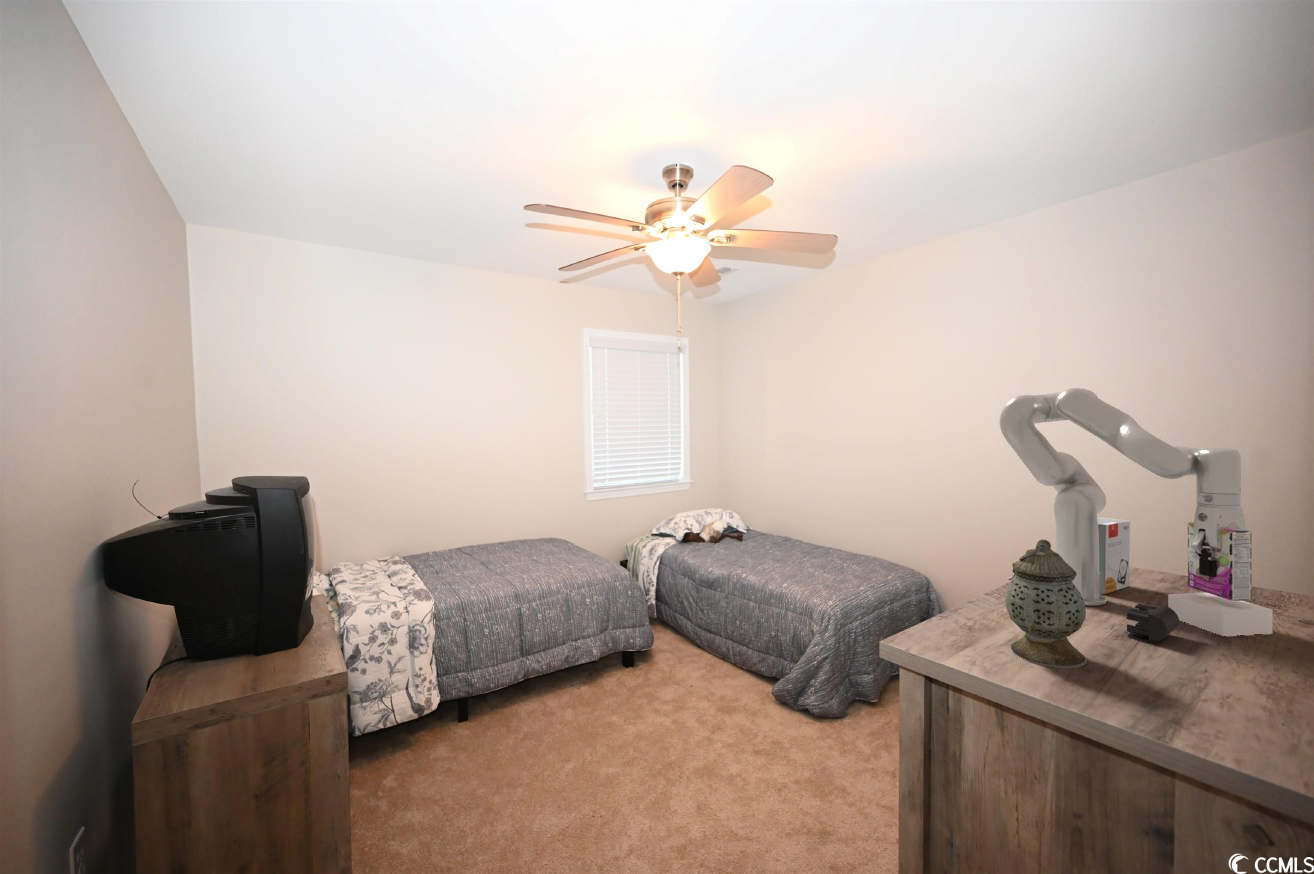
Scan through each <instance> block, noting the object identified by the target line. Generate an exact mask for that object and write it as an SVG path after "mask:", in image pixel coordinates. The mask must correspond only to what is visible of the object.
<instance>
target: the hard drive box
mask: <svg viewBox="0 0 1314 874" xmlns="http://www.w3.org/2000/svg"><path fill="white" fill-rule="evenodd" d="M1097 521H1098V530H1099V594H1101V595H1106V594H1111V593H1113V592H1115V591H1118V590H1119V591H1120V590H1121V589H1125V588H1128V587H1130V555H1131V554H1130V546H1131V545H1130V543H1131V542H1130V541H1131V540H1130V538H1131V537H1130V536H1131V533H1130V532H1131V520H1128V519H1127V520H1126V519H1118V518H1112V517H1105V516H1104V517H1103V516H1101V517H1097Z"/></svg>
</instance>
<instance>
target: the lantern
mask: <svg viewBox="0 0 1314 874" xmlns="http://www.w3.org/2000/svg"><path fill="white" fill-rule="evenodd" d="M1011 565H1012V566H1011V567H1012V573H1013V575H1012V577H1011V578H1008V581H1010V583H1009V585H1008V587H1007V589H1006V591H1005V606H1006V611H1007V612H1008V615H1009V618H1010V620H1011V621H1012V622H1013V623H1014V624H1015V625H1016V626H1017V627H1018V628H1019V629H1021V631H1022V632H1024V633H1025V634H1024V635H1022V636H1021V638H1020V639H1018V640H1016V641H1014V642H1012V643H1011V644H1010V650H1012V651H1013V652H1014V653H1015V654H1016V655H1017V656H1016V655H1015V654H1014V653H1013V652H1012V651H1011V652H1012V653H1013V654H1014V655H1015V656H1016V657H1018V656H1019V657H1018V658H1020V657H1021V658H1023V659H1022V660H1024V659H1025V660H1024V661H1026V660H1027V661H1026V662H1029V663H1032V664H1035V663H1036V664H1035V665H1038V664H1039V665H1038V666H1042V665H1043V667H1047V666H1049V667H1048V668H1053V667H1054V669H1061V670H1064V669H1065V670H1070V669H1080V668H1084V667H1085V666H1086V665H1087V663H1088V661H1087V657H1086V655H1084V654H1083V653H1082V652H1080V651H1079V650H1078V649H1077V648H1076V647H1075V646H1074V645H1073V644H1072V643H1071V642H1070V641H1069V639H1068V637H1070V636H1072V635H1073V634H1075V633H1076V632H1078V631H1079V630H1080V629H1081V628H1082V626H1083V623H1084V621H1085V620H1086V618H1087V617H1086V616H1087V615H1086V613H1087V612H1086V610H1087V607H1086V606H1087V605H1085V603H1084V600H1083V598H1082V596H1081V593H1080V592H1079V591H1078V589H1077V588H1076V587H1075V585H1074V584H1073V583H1072V581H1073V580H1074V578H1075V576H1076V575H1077V573H1076V571H1074V569H1073V568H1072V567H1071V566H1070V565H1068V564H1067V563H1066V562H1065V561H1064V560H1063V559H1062V557H1061V556H1060V555H1059V554H1058V553H1057V552H1056V551H1054V550H1053V549H1052V544H1051V542H1050V541H1049V540H1047V539H1040V540H1038V541H1037V542H1036V545H1035V548H1034V549H1033V548H1032V549H1030V548H1029V549H1027V550H1026V551H1025V554H1024V555H1022V556H1020V557H1019V558H1018V560H1017V561H1015V562H1013V563H1012V564H1011ZM1021 658H1020V659H1021Z"/></svg>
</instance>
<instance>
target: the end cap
mask: <svg viewBox="0 0 1314 874" xmlns="http://www.w3.org/2000/svg"><path fill="white" fill-rule="evenodd" d="M1126 620H1129V621H1134V622H1136V623H1135V625H1132V624H1126V631H1127V638H1128V637H1129V638H1128V639H1132V640H1136V641H1140V640H1141V642H1144V641H1145V643H1148V644H1149V643H1150V644H1154V643H1158V642H1159V641H1162V640H1163V639H1165V638H1166V637H1167V636H1168V635H1170V634H1171V633H1172V632H1173V631H1174V630H1176V628H1178V627H1179V624H1180V621H1179V618H1178V615H1177V614H1176V613H1175V611H1174V610H1172V609H1171V608H1169V607H1168V605H1167V606H1166V605H1165V604H1160V605H1159V606H1158V607H1157V606H1153V605H1148V604H1143V603H1138V604H1136V605H1135V606H1134V608H1130V609H1128V610H1127V611H1126Z"/></svg>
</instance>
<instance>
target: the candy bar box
mask: <svg viewBox="0 0 1314 874" xmlns="http://www.w3.org/2000/svg"><path fill="white" fill-rule="evenodd" d="M1252 539H1253V538H1252V530H1248V529H1246V530H1244V529H1239V528H1230V529H1224V530H1222V549H1216V554H1215V558H1214V560H1215V561H1217V576H1216V577H1210V576H1205V575H1201V574H1200V573H1199V558H1198V557H1197V553H1196V552H1195V550H1194V549H1193V548H1192V547H1191V544H1192V542H1193V541H1194V521H1191V522H1187V587H1188V588H1191V589H1195V590H1197V591H1201V592H1203V593H1210V594H1213V595H1216V596H1219V597H1222V598H1225V599H1229V600H1232V601H1251V600H1252V597H1253V596H1252ZM1206 546H1210V545H1209V544H1206ZM1210 547H1212V546H1210ZM1205 550H1207V552H1208V553H1209V552H1210V550H1209V549H1205Z"/></svg>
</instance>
